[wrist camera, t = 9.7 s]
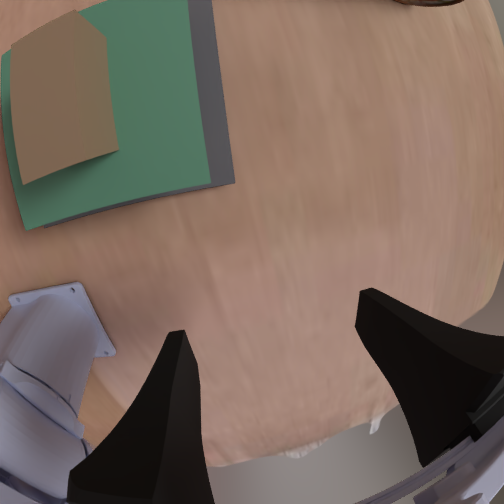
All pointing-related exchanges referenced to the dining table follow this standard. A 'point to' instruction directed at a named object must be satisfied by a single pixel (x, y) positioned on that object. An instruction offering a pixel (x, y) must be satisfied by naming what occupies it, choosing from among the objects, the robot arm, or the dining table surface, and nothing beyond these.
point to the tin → (430, 2)
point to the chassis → (209, 106)
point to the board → (138, 114)
